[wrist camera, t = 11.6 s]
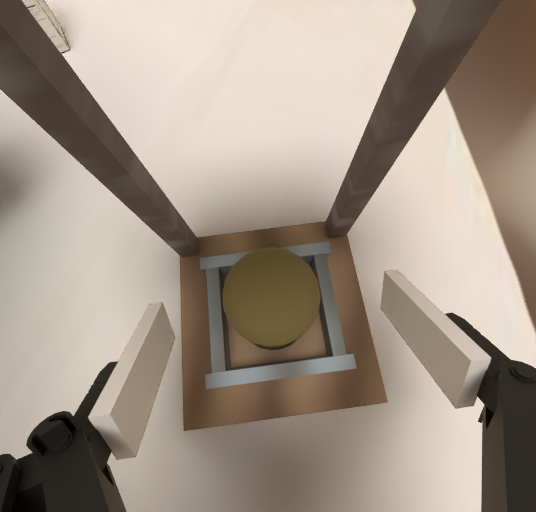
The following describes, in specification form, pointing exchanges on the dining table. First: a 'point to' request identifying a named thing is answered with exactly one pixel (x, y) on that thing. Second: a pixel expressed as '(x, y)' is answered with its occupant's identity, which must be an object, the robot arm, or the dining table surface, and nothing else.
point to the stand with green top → (238, 244)
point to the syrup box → (47, 23)
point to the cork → (271, 297)
